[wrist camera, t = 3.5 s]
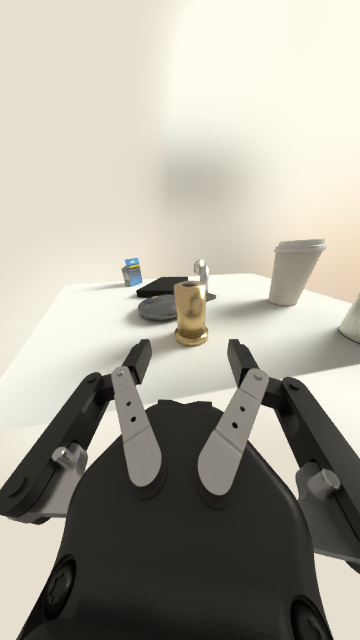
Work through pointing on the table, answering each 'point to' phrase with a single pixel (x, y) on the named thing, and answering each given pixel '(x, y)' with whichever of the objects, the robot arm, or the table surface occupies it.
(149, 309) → the turntable platter
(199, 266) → the dial gauge stand
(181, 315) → the brass cover
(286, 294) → the coffee cup
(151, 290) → the external hard drive
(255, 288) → the table surface
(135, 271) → the label tape box
